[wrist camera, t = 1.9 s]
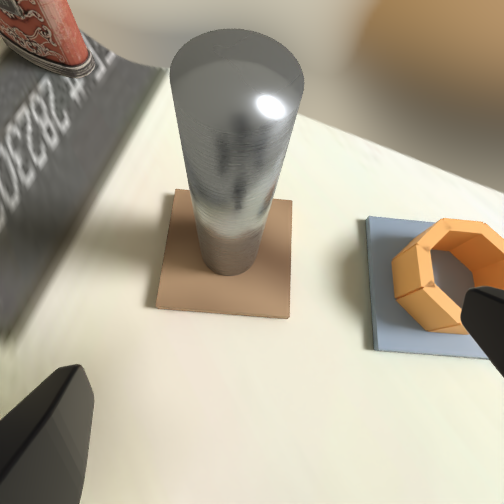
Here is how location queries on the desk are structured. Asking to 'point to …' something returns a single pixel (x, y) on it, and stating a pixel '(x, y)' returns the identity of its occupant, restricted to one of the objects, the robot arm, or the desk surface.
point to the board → (226, 287)
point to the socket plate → (390, 313)
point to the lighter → (46, 35)
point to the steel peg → (234, 136)
